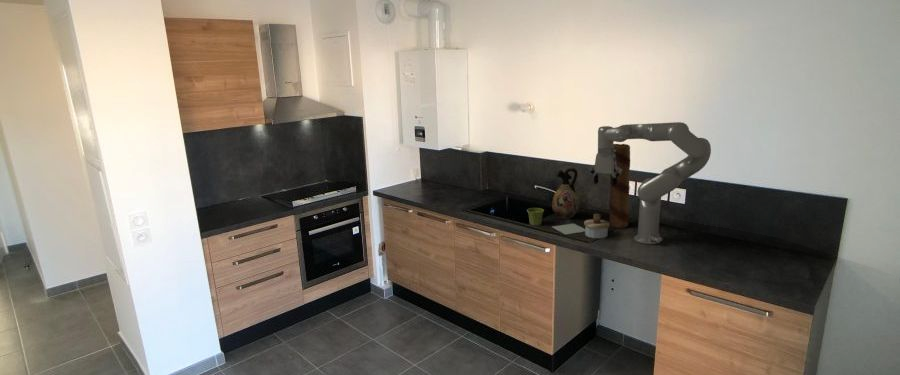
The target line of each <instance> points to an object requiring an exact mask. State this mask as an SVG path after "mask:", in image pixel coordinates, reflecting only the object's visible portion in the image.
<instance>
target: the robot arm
mask: <svg viewBox="0 0 900 375" xmlns="http://www.w3.org/2000/svg"><path fill="white" fill-rule="evenodd" d="M626 140H645V141H646V140H647V141H648V142H670V141H671V142H672V143H673V144H674V145H675V146H676V147H677V148H679V149H680V150H681V151H682V152H684V153H685V154H686V155H687V156H685V158H683V159H681V160H680V161H678V162H676V163H674V164H673V165H671V166H669V167H666V168H664V169H663V170H662V171H661V173H659V174H657V175H656V176H654V177H651V178H650V177H649V178H646V179H644V180H643V181H642V182H641V184H640V185H639V186H638V188H637V197H638V198H639V207H638V208H639V209H638V223H637V224H638V225H637V235H635V236H634V237H633V240H634V241H635V242H637V243H640V244H645V245H657V244H660V243H661V242H662V241H663V240H664V238H663V237H661V236H660V233H659V227H660V213H661V204H662V203H661V201H662V197H664V196H665V195H668V194H669V193H671V192H673V191H674V190H676V189H677V188H678V187H679V185H680V184H682V183H683V182H684V181H685V180H686V179H689V178H690V177H692V176H693V175H695V174H697V173H699V172H700V171H701V170H702V169H703V168H705V166H706V165H707V163H708V162H709V160H710V158H711V155H712V154H711V153H712V147H711V143H710V141H709V140H708V139H706V138H705V137H698V136H697V135H695V133H693V132H691V131H690V128H689V126H688V124H686V123H684V122H681V121H678V122H677V121H676V122H675V121H674V122H673V121H672V122H656V123H634V124H633V123H631V124H629V123H628V124H621V125H619V126H617V127H616V126H615V127H613V126H610V125H609V126H608V125H607V126H606V125H605V126H604V125H603V126H600V127H598V129H597V153H596V155H595V160H594V164H593V165H590V166H589V167H588V169H589V171H590V173H591V174H592V176H593V182H594V185H597V184H599V174H607V175H612V176H613V178H612V185H613V186H615V185H616V184H617V177H618V176H619V175H620V174H621V172H622V169H621V168H619V167H618V166H617V163H616V156H615V154H613V153H614V152H616V149H614V148H613V146H614V144H615V143H614V142H616V143H624V142H625V141H626ZM617 170H618V173H617V174H616V171H617Z"/></svg>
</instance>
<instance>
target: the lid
mask: <svg viewBox="0 0 900 375" xmlns="http://www.w3.org/2000/svg"><path fill="white" fill-rule="evenodd" d="M601 218H602V214H600V213H594V214H593V216H592V218H591V219H586V220H584V222H583V223H584V224H583V225H584V227H585V226H586V227H589V228H593V229H604V228H609V227H610V221H607V220H605V219H604V220H603V219H601Z"/></svg>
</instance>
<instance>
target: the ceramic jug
mask: <svg viewBox="0 0 900 375" xmlns="http://www.w3.org/2000/svg"><path fill="white" fill-rule="evenodd" d="M569 172H572V173H574V175H573V178H572V176H571V175H570V174H569ZM554 176H555V177H557V178H560V179H561V180H562V182H561V185H559V187H558V188H557V190H556V192H555V193H554V194H553V197H552V202H551V207H552V211H553V212H554V214H555V215H556V218H560V219H572V218H574V217H575V215H576V213H578V211H579V208H580V202H579V197H578V195H577V193H576V190H575V189H576V188H575V183H576V181H577V178H578V170H577V169H576V168H574V167H569V168H566V170H565V171H564V170H562V169H560V170H558V171H557V172H556V174H555V175H554ZM571 179H572V181H571V183H570V181H569V180H571Z"/></svg>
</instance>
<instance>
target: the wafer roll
mask: <svg viewBox="0 0 900 375" xmlns="http://www.w3.org/2000/svg"><path fill="white" fill-rule="evenodd" d="M613 148H614V149H616V152H614V153H613V154H615V156H616V163H617V166H618V167H619V168H621V169H622V172H621V174H620V175H619V176H618V177H617V184H616V185H615V186H613V185H612V178H613V176H612V175H611V174H609V175H610V176H609V178H610V179H609V180H610V181H609V182H610V183H609V185H610V189H609V190H610V191H609V203H608V204H609V209H608V211H609V227H612V228H616V229H625V228H627V227H628V226H629V219H630V216H629V199H630V168H631V146H630V145H629V144H627V143H614V146H613ZM617 173H618V170H617V171H616V174H617Z"/></svg>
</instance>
